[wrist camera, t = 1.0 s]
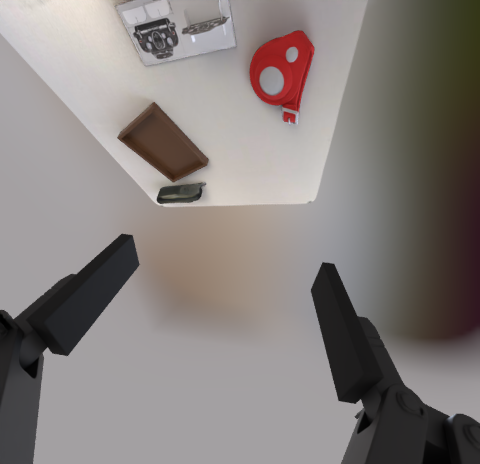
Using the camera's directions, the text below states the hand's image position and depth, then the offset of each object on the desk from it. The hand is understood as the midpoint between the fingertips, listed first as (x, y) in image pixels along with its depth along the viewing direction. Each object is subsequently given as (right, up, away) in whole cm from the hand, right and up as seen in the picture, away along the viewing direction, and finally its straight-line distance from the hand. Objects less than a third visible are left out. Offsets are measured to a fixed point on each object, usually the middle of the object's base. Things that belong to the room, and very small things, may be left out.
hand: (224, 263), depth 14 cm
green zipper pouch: (-15, +15, +43) cm, 48 cm away
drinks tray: (-16, +22, +31) cm, 41 cm away
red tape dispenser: (+8, +27, +18) cm, 33 cm away
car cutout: (-7, +31, +14) cm, 35 cm away
